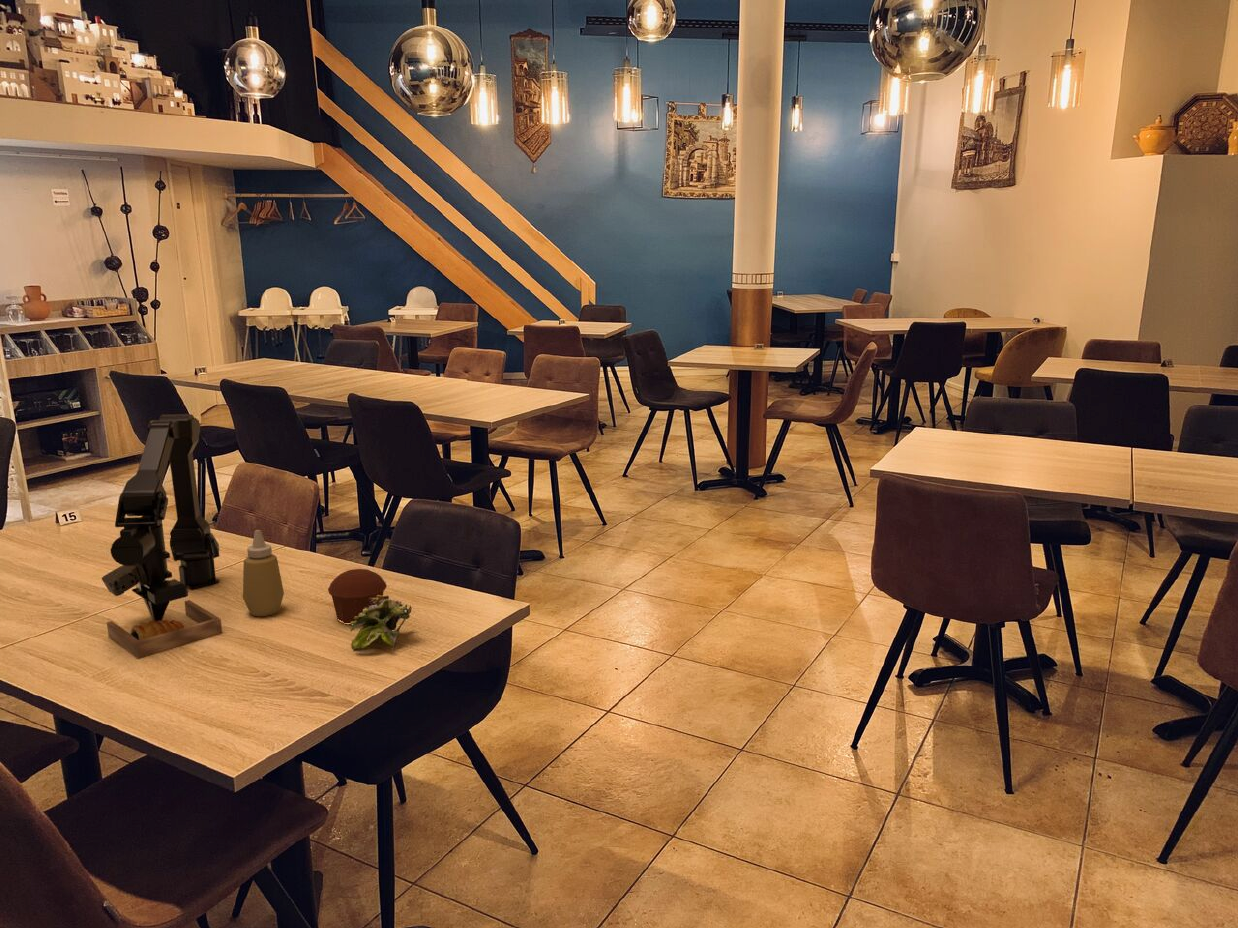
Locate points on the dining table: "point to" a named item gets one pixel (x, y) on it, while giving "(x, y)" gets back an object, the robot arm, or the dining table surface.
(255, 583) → the squeeze bottle
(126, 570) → the robot arm
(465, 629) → the dining table surface
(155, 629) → the pastry
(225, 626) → the dining table surface
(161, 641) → the box
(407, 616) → the green leafy plant
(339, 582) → the muffin
